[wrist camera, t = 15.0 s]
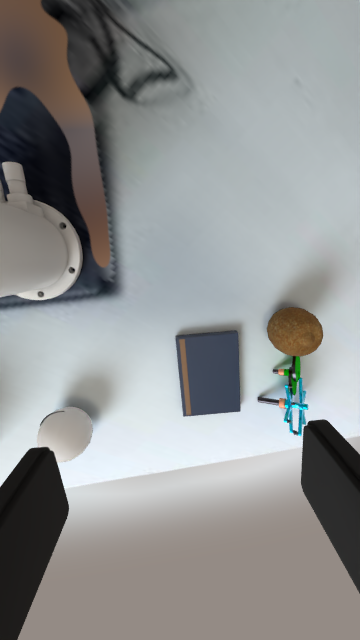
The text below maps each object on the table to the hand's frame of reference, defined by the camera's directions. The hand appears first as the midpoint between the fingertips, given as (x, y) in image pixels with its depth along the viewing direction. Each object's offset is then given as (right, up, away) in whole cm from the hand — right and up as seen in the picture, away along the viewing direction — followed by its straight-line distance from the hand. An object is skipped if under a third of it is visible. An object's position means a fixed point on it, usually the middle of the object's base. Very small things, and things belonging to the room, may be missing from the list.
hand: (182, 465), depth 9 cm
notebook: (+4, -3, +28) cm, 28 cm away
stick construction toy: (+16, -5, +29) cm, 33 cm away
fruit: (+15, +5, +26) cm, 30 cm away
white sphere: (-18, -11, +30) cm, 36 cm away
